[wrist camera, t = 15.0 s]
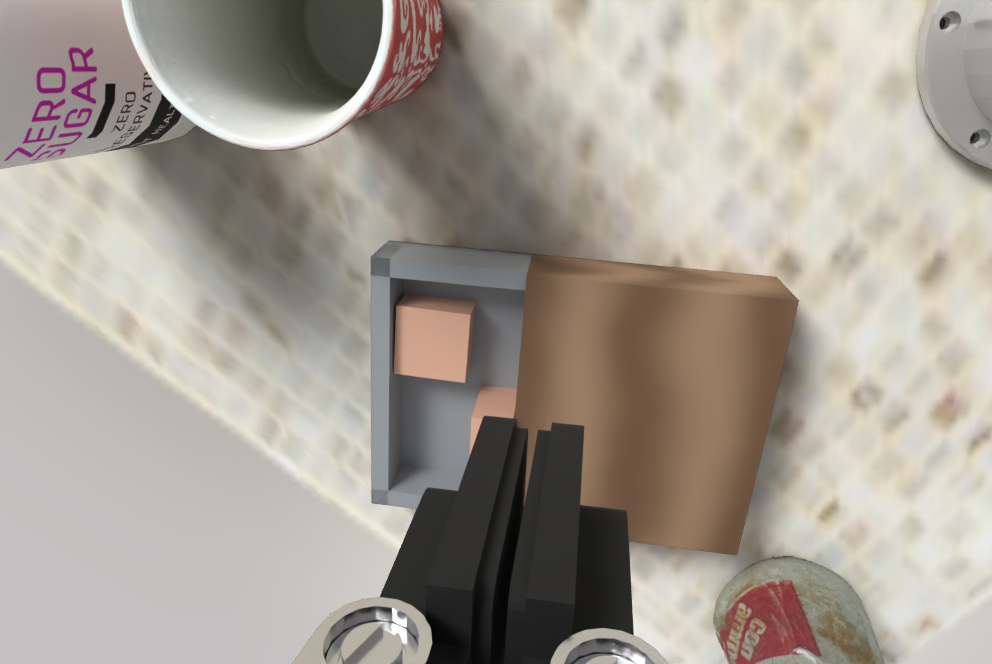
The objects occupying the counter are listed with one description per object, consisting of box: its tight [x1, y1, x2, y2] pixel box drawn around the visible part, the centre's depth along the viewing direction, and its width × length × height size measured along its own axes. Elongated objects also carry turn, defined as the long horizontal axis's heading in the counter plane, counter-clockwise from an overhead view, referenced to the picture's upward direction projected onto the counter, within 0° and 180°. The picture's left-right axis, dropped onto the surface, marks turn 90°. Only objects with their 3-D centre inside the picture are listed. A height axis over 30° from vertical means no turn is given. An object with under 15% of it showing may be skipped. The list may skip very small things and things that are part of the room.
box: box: [371, 241, 532, 509], centre depth 38 cm, size 8×15×4 cm, turn 176°
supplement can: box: [0, 0, 196, 169], centre depth 28 cm, size 8×8×15 cm
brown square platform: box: [514, 254, 799, 555], centre depth 37 cm, size 13×15×4 cm
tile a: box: [469, 385, 517, 457], centre depth 38 cm, size 4×4×2 cm
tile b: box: [394, 293, 476, 383], centre depth 37 cm, size 4×4×2 cm
